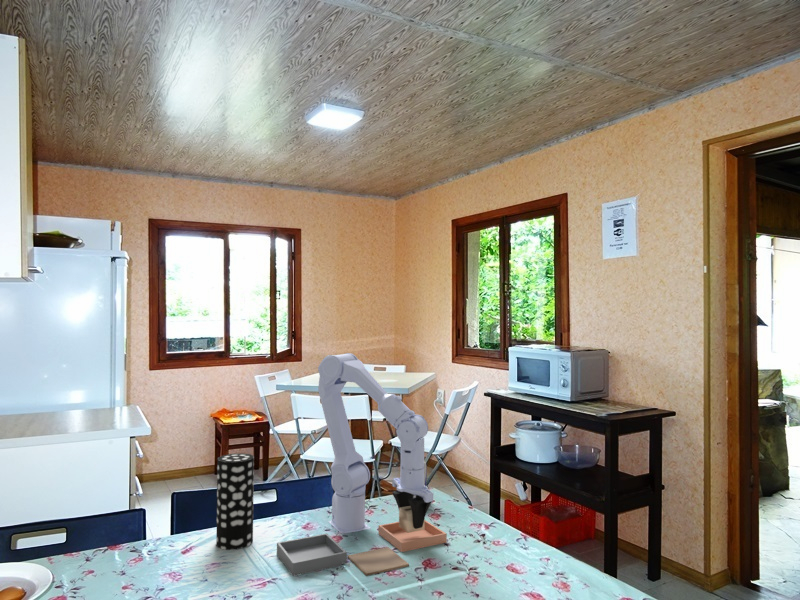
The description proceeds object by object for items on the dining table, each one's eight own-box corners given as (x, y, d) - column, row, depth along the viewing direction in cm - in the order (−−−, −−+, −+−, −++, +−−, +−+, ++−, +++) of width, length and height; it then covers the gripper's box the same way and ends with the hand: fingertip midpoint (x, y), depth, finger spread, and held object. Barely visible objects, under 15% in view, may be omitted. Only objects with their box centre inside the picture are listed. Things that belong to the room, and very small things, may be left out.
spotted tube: (208, 546, 132) (209, 460, 133) (231, 533, 140) (232, 452, 140) (237, 552, 129) (239, 463, 130) (260, 539, 137) (261, 455, 137)
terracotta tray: (378, 536, 139) (378, 525, 139) (421, 527, 144) (421, 517, 145) (401, 554, 128) (401, 542, 128) (446, 544, 134) (446, 533, 134)
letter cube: (399, 526, 137) (399, 507, 138) (415, 523, 140) (415, 504, 140) (408, 532, 133) (408, 513, 134) (424, 529, 136) (424, 510, 136)
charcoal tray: (276, 554, 128) (276, 542, 128) (326, 544, 134) (327, 533, 134) (292, 576, 117) (293, 563, 117) (346, 564, 123) (346, 552, 123)
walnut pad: (347, 559, 125) (347, 555, 125) (387, 551, 130) (387, 546, 130) (366, 578, 116) (366, 573, 116) (408, 568, 121) (409, 563, 121)
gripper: (382, 462, 141) (381, 517, 140) (416, 476, 129) (415, 537, 128) (405, 458, 145) (405, 512, 144) (440, 472, 132) (440, 531, 132)
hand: (411, 524), depth 136 cm, fingers closed on letter cube, 5 cm apart
